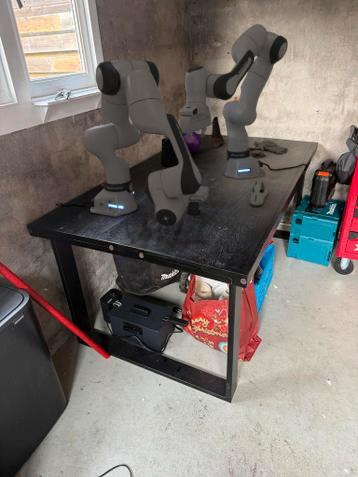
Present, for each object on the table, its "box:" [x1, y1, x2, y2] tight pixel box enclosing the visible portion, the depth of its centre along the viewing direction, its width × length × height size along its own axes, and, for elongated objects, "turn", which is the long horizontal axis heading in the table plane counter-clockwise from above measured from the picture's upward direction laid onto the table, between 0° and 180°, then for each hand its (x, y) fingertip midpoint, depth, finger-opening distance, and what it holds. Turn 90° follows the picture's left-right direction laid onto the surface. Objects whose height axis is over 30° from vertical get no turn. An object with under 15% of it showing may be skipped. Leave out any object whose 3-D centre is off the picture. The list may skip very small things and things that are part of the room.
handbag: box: [160, 134, 184, 168], centre depth 210 cm, size 21×9×25 cm, turn 148°
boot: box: [210, 116, 225, 149], centre depth 246 cm, size 9×24×20 cm, turn 168°
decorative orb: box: [184, 131, 202, 154], centre depth 230 cm, size 15×15×15 cm
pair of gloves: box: [247, 139, 289, 158], centre depth 226 cm, size 30×26×5 cm
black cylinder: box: [187, 202, 200, 216], centre depth 145 cm, size 5×5×17 cm
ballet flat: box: [249, 179, 269, 207], centre depth 158 cm, size 8×24×8 cm, turn 163°
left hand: (186, 185), depth 130 cm, fingers open, 8 cm apart
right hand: (197, 139), depth 152 cm, fingers open, 8 cm apart
